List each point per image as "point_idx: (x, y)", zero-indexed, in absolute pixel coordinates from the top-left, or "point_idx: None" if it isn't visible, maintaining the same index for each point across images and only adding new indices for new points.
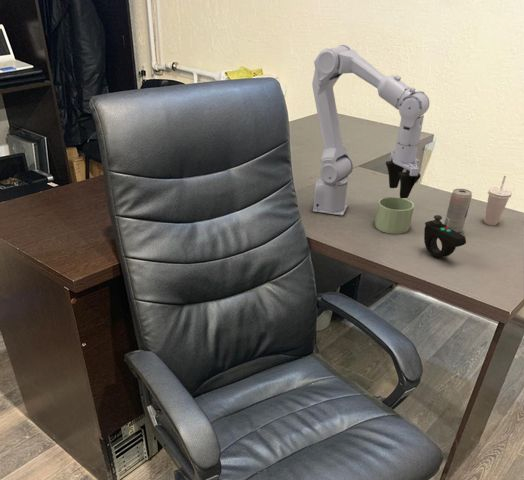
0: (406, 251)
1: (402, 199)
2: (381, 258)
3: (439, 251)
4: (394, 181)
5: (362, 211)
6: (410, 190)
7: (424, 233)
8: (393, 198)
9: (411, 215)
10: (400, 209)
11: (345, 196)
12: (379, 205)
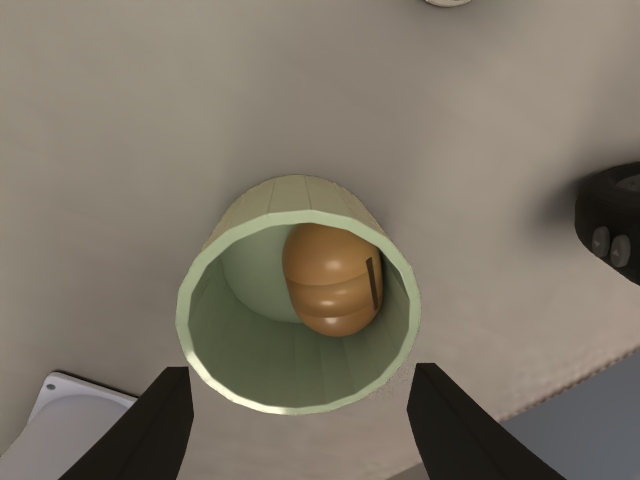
0: (523, 288)
1: (221, 250)
2: (524, 378)
3: (635, 186)
4: (165, 453)
5: (111, 322)
6: (488, 421)
7: (610, 265)
8: (192, 302)
9: (380, 227)
10: (318, 281)
11: (73, 463)
12: (299, 411)
